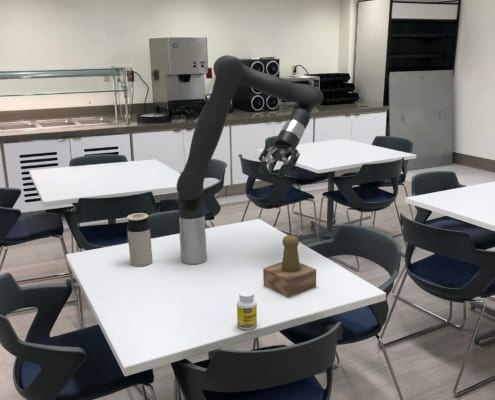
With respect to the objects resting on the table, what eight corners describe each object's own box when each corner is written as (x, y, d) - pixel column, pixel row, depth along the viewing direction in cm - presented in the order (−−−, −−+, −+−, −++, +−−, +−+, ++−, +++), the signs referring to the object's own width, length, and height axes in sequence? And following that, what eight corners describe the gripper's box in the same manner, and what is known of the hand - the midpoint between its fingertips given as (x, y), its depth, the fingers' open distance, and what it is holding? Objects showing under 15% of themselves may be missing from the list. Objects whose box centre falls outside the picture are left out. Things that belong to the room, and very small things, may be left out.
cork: (299, 273, 160) (299, 239, 157) (280, 272, 162) (279, 239, 159) (301, 265, 166) (301, 233, 163) (282, 264, 167) (282, 232, 164)
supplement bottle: (243, 332, 138) (241, 299, 136) (234, 323, 143) (232, 291, 140) (260, 327, 140) (259, 294, 138) (251, 318, 145) (250, 287, 143)
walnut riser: (263, 285, 166) (263, 268, 165) (290, 275, 173) (290, 258, 172) (288, 297, 157) (288, 279, 156) (316, 286, 164) (316, 269, 163)
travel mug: (155, 258, 192) (151, 212, 187) (149, 267, 184) (145, 219, 179) (134, 258, 193) (130, 212, 188) (127, 266, 185) (123, 219, 180)
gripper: (269, 127, 179) (248, 165, 174) (302, 130, 170) (281, 170, 165) (278, 140, 184) (258, 177, 179) (311, 144, 175) (291, 183, 170)
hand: (269, 174), depth 172 cm, fingers open, 8 cm apart
